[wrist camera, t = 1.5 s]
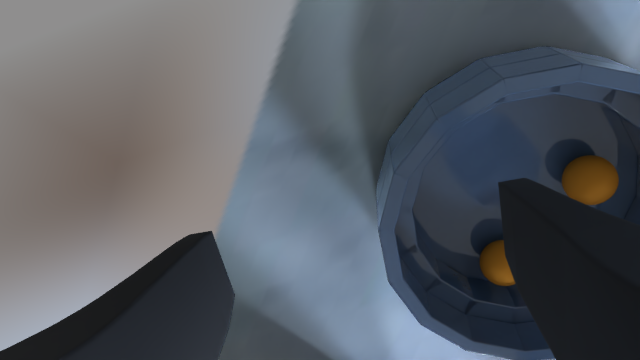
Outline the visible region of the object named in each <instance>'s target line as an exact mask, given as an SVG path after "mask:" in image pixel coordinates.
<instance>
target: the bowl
mask: <svg viewBox="0 0 640 360" xmlns="http://www.w3.org/2000/svg"><path fill="white" fill-rule="evenodd" d="M586 155H594V156H599V157H602V158H604V159H606V160H608V161H609V162H610V163H611V164H612V165H613V166H614V167H615V169H616V171H617V173H618V177H619V182H618V187H617V190H616V191H615V193H614V194H613V196H612V197H611V198H609V199H608V200H607V201H605V202H603V203H600V204H596V205H588V206H590V207H593V208H595V209H598V210H600V211H603V212H605V213H608V214H611V215H613V216H616V217H619V218H621V219H624V220H627V221H630V222H633V223H636V224H639V225H640V71H638V70H636V69H633V68H631V67H628V66H626V65H623V64H621V63H618V62H616V61H613V60H611V59H608V58H606V57H601V56H596V55H591V54H585V53H580V52H575V51H570V50H565V49H560V48H555V47H550V46H546V47H545V46H541V47H536V48H531V49H526V50H521V51H516V52H511V53H506V54H501V55H496V56H490V57H485V58H481V59H478V60H476V61H475V62H473V63H472V64H470V65H468V66H467V67H465V68H464V69H462V70H460V71H459V72H457V73H456V74H454V75H452V76H451V77H449V78H448V79H446V80H444V81H443V82H441V83H439V84H438V85H436V86H435V87H433V88H431V89H430V90H428V91H427V92H425V94H423V95H422V97H421V98H420V99H419V101H418V102H417V103H416V105H415V106H414V107H413V109H412V110H411V111H410V113H409V114H408V115H407V117H406V118H405V119H404V121H403V122H402V123H401V125H400V126H399V127H398V128H397V130H396V131H395V132H394V134H393V135H392V136H391V138H390V139H389V141H388V144H387V148H386V152H385V156H384V160H383V164H382V168H381V172H380V176H379V180H378V184H377V187H376V202H377V218H378V232H379V237H380V242H381V247H382V252H383V258H384V263H385V268H386V273H387V278H388V282H389V283H390V285H391V286H392V287H393V289H394V290H395V291H396V293H397V294H398V295H399V297H400V298H401V299H402V301H403V302H404V303H405V305H406V306H407V307H408V309H409V310H410V311H411V313H412V314H413V315H414V317H415V318H416V319H417V321H418V322H419V323H420V324H421V325H422V326H424V327H426V328H428V329H429V330H431V331H433V332H434V333H436V334H438V335H440V336H441V337H443V338H445V339H446V340H448V341H450V342H452V343H453V344H455V345H457V346H458V347H460V348H462V349H464V350H465V351H466V350H467V351H469V352H474V353H479V354H484V355H490V356H495V357H500V358H505V359H510V360H546V359H555V357H554V355H553V353H552V352H551V350H550V348H549V346H548V344H547V343H546V341H545V339H544V337H543V335H542V333H541V332H540V330H539V328H538V326H537V324H536V322H535V321H534V319H533V317H532V315H531V313H530V311H529V310H528V308H527V306H526V304H525V302H524V300H523V298H522V297H521V295H520V293H519V291H518V289H517V286H516V284H514V285H511V286H500V285H496V284H494V283H492V282H490V281H489V280H488V279H487V278H486V277H485V276H484V275H483V273H482V271H481V268H480V255H481V253H482V251H483V249H484V248H485V247H486V246H487V245H488V244H490V243H491V242H494V241H497V240H504V239H503V229H502V218H501V208H500V197H499V187H498V182H503V181H508V180H514V179H520V178H528V179H530V180H533V181H535V182H537V183H540V184H542V185H544V186H546V187H548V188H550V189H553V190H555V191H557V192H559V193H561V194H563V195H565V196H568V195H567V194H566V192H565V191H564V189H563V186H562V174H563V172H564V169H565V168H566V166H567V165H568V164H569V163H570V162H571V161H573V160H574V159H576V158H578V157H581V156H586ZM568 197H569V196H568Z"/></svg>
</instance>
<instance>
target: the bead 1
mask: <svg viewBox="0 0 640 360" xmlns="http://www.w3.org/2000/svg"><path fill="white" fill-rule="evenodd" d="M480 268H481V271H482V273H483V275H484V276H485V277H486V278H487V279H488V280H489V281H490V282H492V283H494V284H496V285H500V286H511V285H514V284H515V281H514V278H513V276H512V273H511V270H510V268H509V265H508V262H507V259H506V257H505V250H504V240H497V241H494V242H491V243H490V244H488V245H487V246H486V247H485V248H484V249H483V251H482V253H481V255H480Z"/></svg>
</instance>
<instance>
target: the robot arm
mask: <svg viewBox="0 0 640 360" xmlns="http://www.w3.org/2000/svg"><path fill="white" fill-rule="evenodd" d="M498 187H499V197H500V208H501V218H502V229H503V239H504V250H505V257H506V259H507V262H508V265H509V268H510V270H511V273H512V276H513V278H514V281H515V284H516V286H517V289H518V291H519V293H520V295H521V297H522V298H523V300H524V302H525V304H526V306H527V308H528V310H529V311H530V313H531V315H532V317H533V319H534V321H535V322H536V324H537V326H538V328H539V330H540V332H541V333H542V335H543V337H544V339H545V341H546V343H547V344H548V346H549V348H550V350H551V352H552V353H553V355H554V357H555V359H556V360H640V225H639V224H636V223H633V222H630V221H627V220H624V219H621V218H619V217H616V216H613V215H611V214H608V213H605V212H603V211H600V210H598V209H595V208H593V207H590V206H588V205H586V204H583V203H581V202H579V201H577V200H574V199H572V198H570V197H568V196H565V195H563V194H561V193H559V192H557V191H555V190H553V189H550V188H548V187H546V186H544V185H542V184H540V183H537V182H535V181H533V180H530V179H528V178H520V179H514V180H508V181H503V182H498ZM234 297H235V294H234V291H233V288H232V286H231V283H230V280H229V277H228V275H227V272H226V269H225V266H224V264H223V261H222V258H221V255H220V253H219V250H218V247H217V244H216V242H215V239H214V236H213V233H212V231H208V232H203V233H196V234H191V235H188V236H186V237H185V238H183V239H181V240H180V241H178V242H176V243H175V244H173V245H172V246H171V247H169V248H168V249H166V250H165V251H163V252H162V253H161V254H159V255H158V256H157V257H155V258H154V259H153V260H152V261H150V262H148V263H147V264H146V265H145V266H143V267H142V268H141V269H139V270H138V271H136V272H135V273H134V274H132V275H131V276H129V277H128V278H127V279H125V280H124V281H122V282H121V283H119V284H118V285H117V286H115V287H114V288H112V289H111V290H109V291H108V292H106V293H105V294H103V295H102V296H101V297H99V298H98V299H96V300H94V301H93V302H91V303H90V304H88V305H87V306H85V307H84V308H82V309H80V310H78V311H77V312H75V313H73V314H72V315H70V316H68V317H67V318H65V319H63V320H61V321H60V322H58V323H56V324H54V325H52V326H51V327H49V328H47V329H45V330H43V331H41V332H39V333H37V334H35V335H33V336H31V337H29V338H27V339H25V340H23V341H21V342H19V343H17V344H15V345H13V346H11V347H9V348H7V349H5V350H2V351H0V360H218V359H219V356H220V353H221V350H222V347H223V344H224V341H225V338H226V335H227V332H228V329H229V325H230V320H231V315H232V309H233V303H234Z"/></svg>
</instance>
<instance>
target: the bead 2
mask: <svg viewBox="0 0 640 360" xmlns="http://www.w3.org/2000/svg"><path fill="white" fill-rule="evenodd" d="M618 182H619V177H618V173H617V171H616V169H615V167H614V166H613V165H612V164H611V163H610V162H609V161H608V160H606V159H604V158H602V157H599V156H594V155H586V156H581V157H578V158H576V159H574V160H573V161H571V162H570V163H569V164H568V165H567V166H566V168H565V169H564V172H563V174H562V186H563V189H564V191H565V192H566V194H567V195H568V196H569V197H570V198H572V199H574V200H577V201H579V202H581V203H583V204H586V205H596V204H600V203H603V202H605V201H607V200H608V199H609V198H611V197H612V196H613V194H614V193H615V191H616V190H617V187H618Z"/></svg>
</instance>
